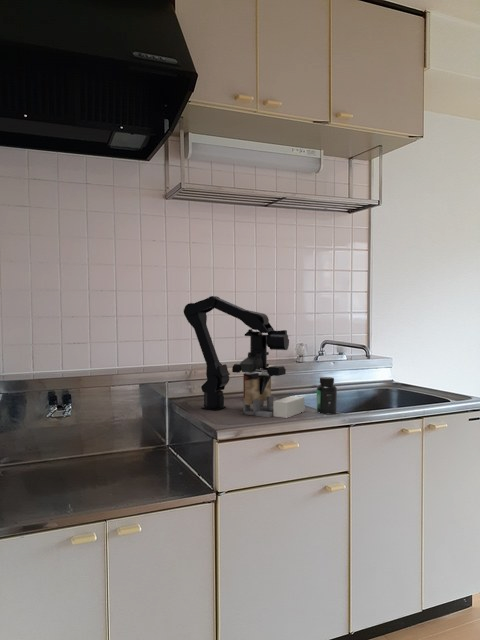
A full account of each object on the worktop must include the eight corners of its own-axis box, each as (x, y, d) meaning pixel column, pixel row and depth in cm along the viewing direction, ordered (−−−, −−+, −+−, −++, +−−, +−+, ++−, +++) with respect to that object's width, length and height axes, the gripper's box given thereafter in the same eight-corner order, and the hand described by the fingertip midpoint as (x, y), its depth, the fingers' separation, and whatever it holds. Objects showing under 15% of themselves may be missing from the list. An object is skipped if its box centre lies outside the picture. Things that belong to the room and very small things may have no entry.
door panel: (266, 398, 180) (266, 376, 180) (270, 398, 179) (270, 376, 178) (244, 404, 168) (244, 380, 168) (249, 404, 167) (249, 381, 167)
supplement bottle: (317, 414, 170) (317, 378, 169) (316, 410, 176) (316, 376, 176) (337, 414, 169) (337, 379, 169) (336, 410, 176) (336, 376, 175)
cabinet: (243, 413, 170) (243, 399, 170) (266, 406, 183) (266, 393, 183) (282, 419, 161) (282, 403, 161) (304, 411, 174) (304, 397, 174)
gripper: (223, 349, 172) (223, 394, 172) (269, 352, 161) (269, 400, 161) (241, 347, 181) (241, 390, 181) (286, 350, 170) (286, 395, 171)
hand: (258, 394), depth 173 cm, fingers closed on door panel, 2 cm apart
